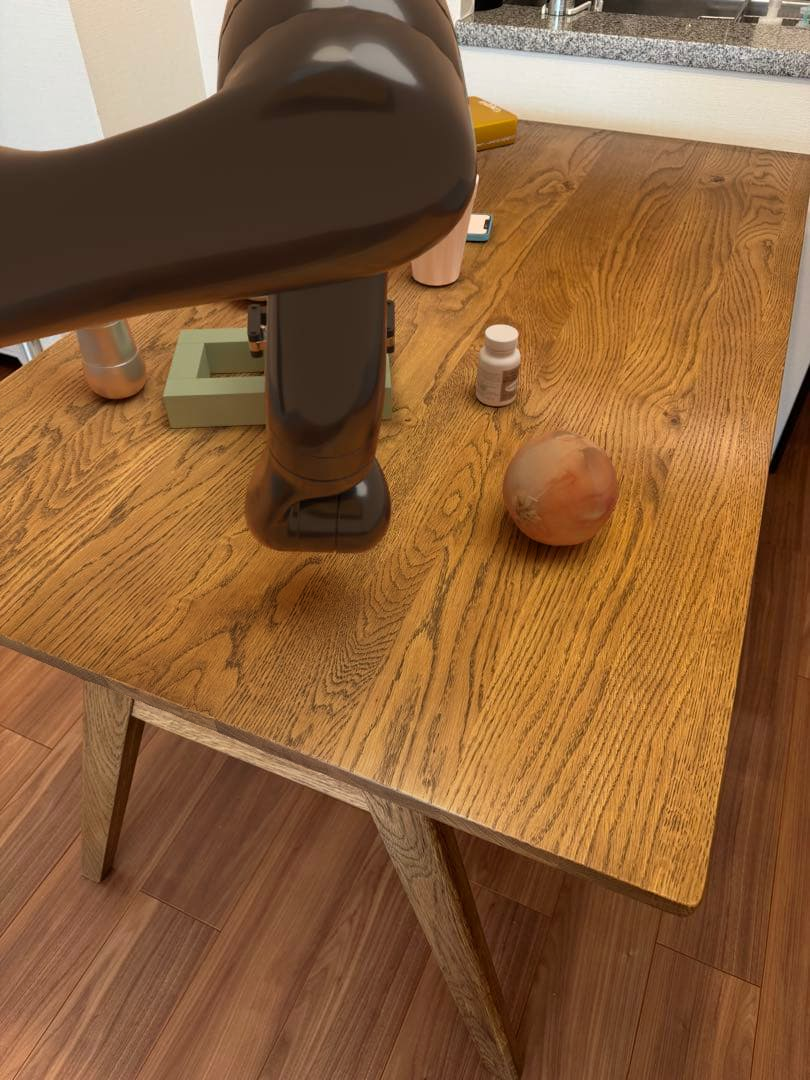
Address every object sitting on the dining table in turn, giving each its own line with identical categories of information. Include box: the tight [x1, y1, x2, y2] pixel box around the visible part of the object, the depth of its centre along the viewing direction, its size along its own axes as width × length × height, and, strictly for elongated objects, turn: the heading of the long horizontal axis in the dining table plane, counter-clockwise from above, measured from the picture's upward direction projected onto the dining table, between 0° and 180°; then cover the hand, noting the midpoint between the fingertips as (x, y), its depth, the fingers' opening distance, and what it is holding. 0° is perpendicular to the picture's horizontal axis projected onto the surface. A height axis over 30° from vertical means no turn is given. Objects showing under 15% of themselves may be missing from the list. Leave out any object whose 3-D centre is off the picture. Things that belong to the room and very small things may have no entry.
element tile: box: [468, 95, 519, 152], centre depth 141 cm, size 15×15×5 cm
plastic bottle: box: [75, 318, 148, 400], centre depth 79 cm, size 6×7×20 cm
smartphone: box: [466, 212, 494, 242], centre depth 115 cm, size 8×1×15 cm
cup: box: [410, 173, 480, 286], centre depth 100 cm, size 10×10×13 cm
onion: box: [502, 428, 619, 547], centre depth 67 cm, size 10×10×10 cm
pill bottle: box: [475, 323, 522, 407], centre depth 82 cm, size 4×4×8 cm
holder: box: [162, 326, 393, 429], centre depth 85 cm, size 13×23×4 cm, turn 94°
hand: (323, 291), depth 80 cm, fingers open, 8 cm apart
